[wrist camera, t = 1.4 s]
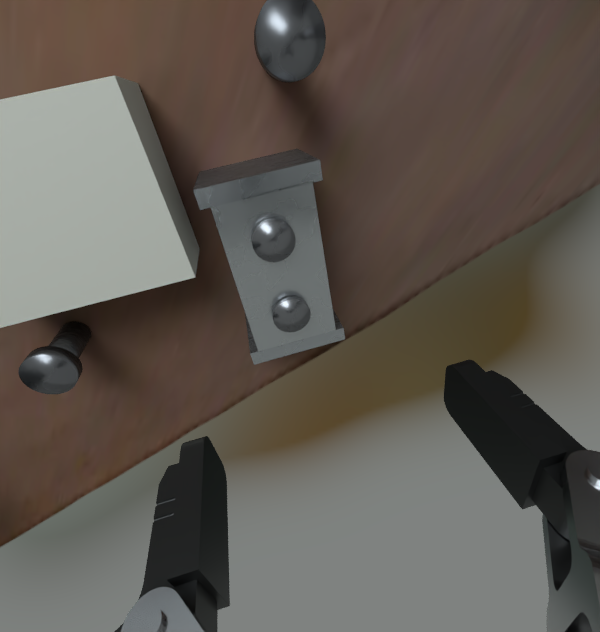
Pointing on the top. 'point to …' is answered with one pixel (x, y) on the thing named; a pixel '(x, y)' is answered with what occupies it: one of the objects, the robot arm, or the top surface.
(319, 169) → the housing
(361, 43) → the top surface
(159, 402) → the top surface
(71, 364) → the bolt
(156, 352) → the top surface
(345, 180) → the top surface
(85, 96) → the stand
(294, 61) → the bolt
